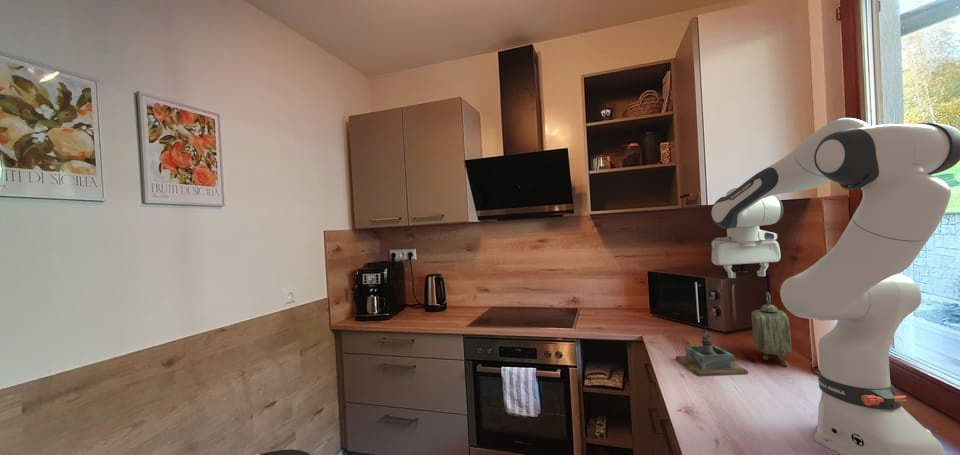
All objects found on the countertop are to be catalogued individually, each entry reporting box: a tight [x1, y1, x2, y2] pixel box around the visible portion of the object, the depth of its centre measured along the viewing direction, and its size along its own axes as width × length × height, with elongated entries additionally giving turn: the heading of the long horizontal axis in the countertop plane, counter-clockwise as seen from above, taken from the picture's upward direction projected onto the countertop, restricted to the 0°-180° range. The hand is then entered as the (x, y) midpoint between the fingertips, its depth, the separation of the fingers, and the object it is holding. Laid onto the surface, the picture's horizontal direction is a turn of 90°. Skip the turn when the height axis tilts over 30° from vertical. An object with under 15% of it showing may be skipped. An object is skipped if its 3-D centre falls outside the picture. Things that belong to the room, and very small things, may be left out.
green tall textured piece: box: [750, 291, 793, 367], centre depth 128 cm, size 14×9×25 cm, turn 148°
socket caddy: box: [675, 344, 749, 377], centre depth 127 cm, size 16×16×6 cm
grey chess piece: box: [699, 330, 717, 355], centre depth 127 cm, size 6×6×12 cm
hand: (746, 277), depth 117 cm, fingers open, 8 cm apart
